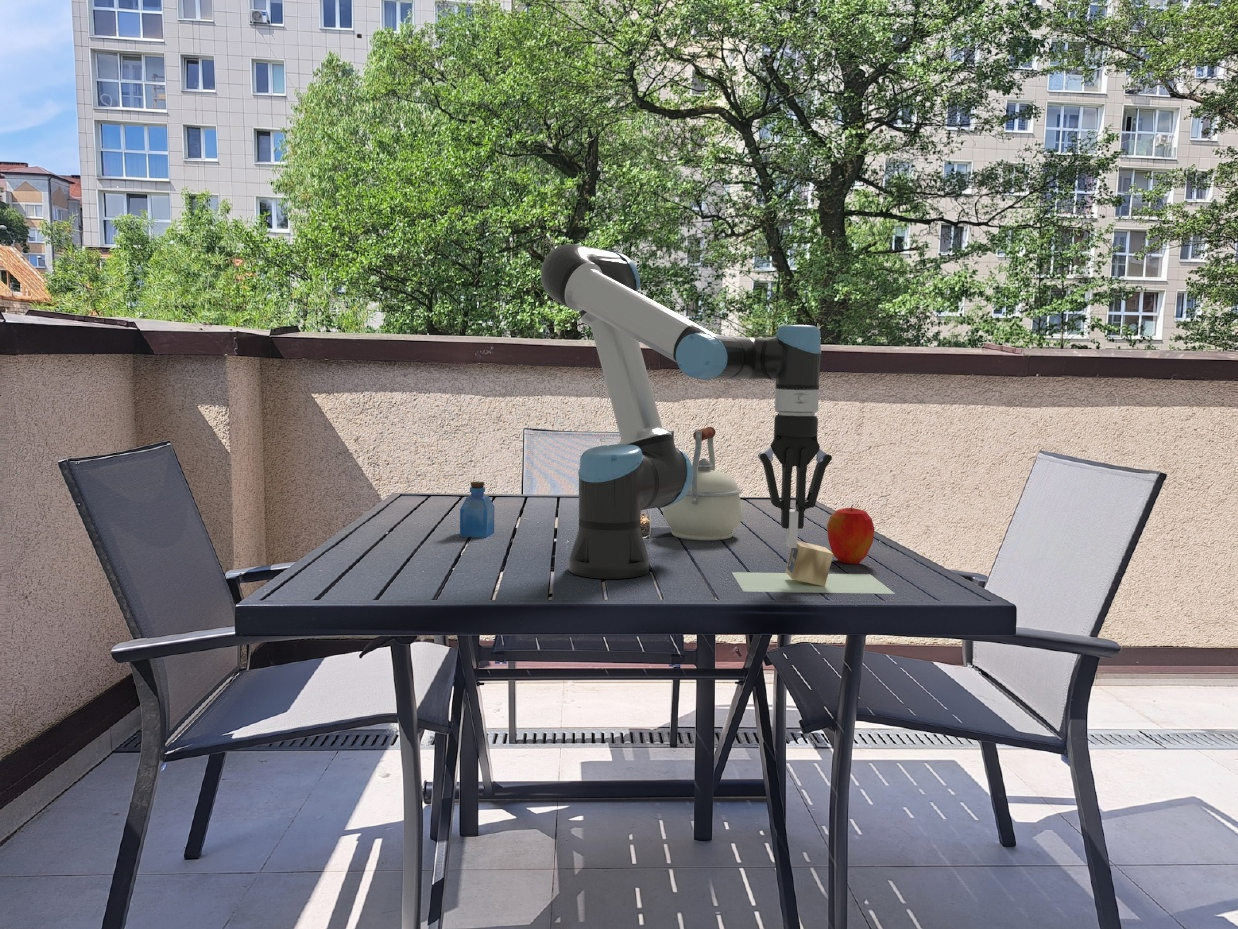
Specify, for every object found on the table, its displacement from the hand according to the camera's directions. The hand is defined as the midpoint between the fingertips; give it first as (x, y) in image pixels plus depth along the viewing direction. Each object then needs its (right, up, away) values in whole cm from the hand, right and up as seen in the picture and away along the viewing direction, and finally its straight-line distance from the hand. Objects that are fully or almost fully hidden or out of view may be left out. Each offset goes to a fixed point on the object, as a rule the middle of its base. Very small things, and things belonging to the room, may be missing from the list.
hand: (791, 546), depth 162 cm
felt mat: (+3, -7, +1) cm, 8 cm away
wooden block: (0, -2, 0) cm, 2 cm away
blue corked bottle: (-63, -2, +45) cm, 77 cm away
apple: (+15, -5, +20) cm, 26 cm away
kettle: (-11, -2, +50) cm, 52 cm away
